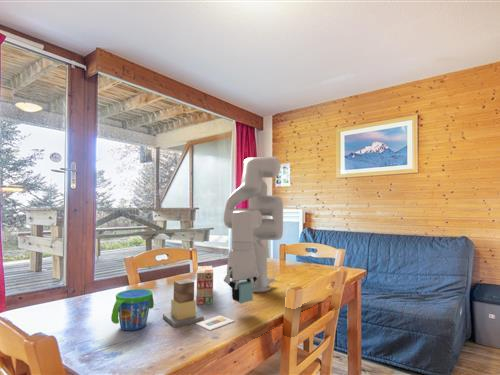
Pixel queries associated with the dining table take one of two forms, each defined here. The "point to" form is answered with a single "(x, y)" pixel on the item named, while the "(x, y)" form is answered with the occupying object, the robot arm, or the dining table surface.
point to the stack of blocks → (204, 285)
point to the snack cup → (132, 308)
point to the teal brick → (245, 291)
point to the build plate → (184, 321)
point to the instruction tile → (214, 322)
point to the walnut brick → (183, 290)
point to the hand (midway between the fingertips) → (242, 297)
